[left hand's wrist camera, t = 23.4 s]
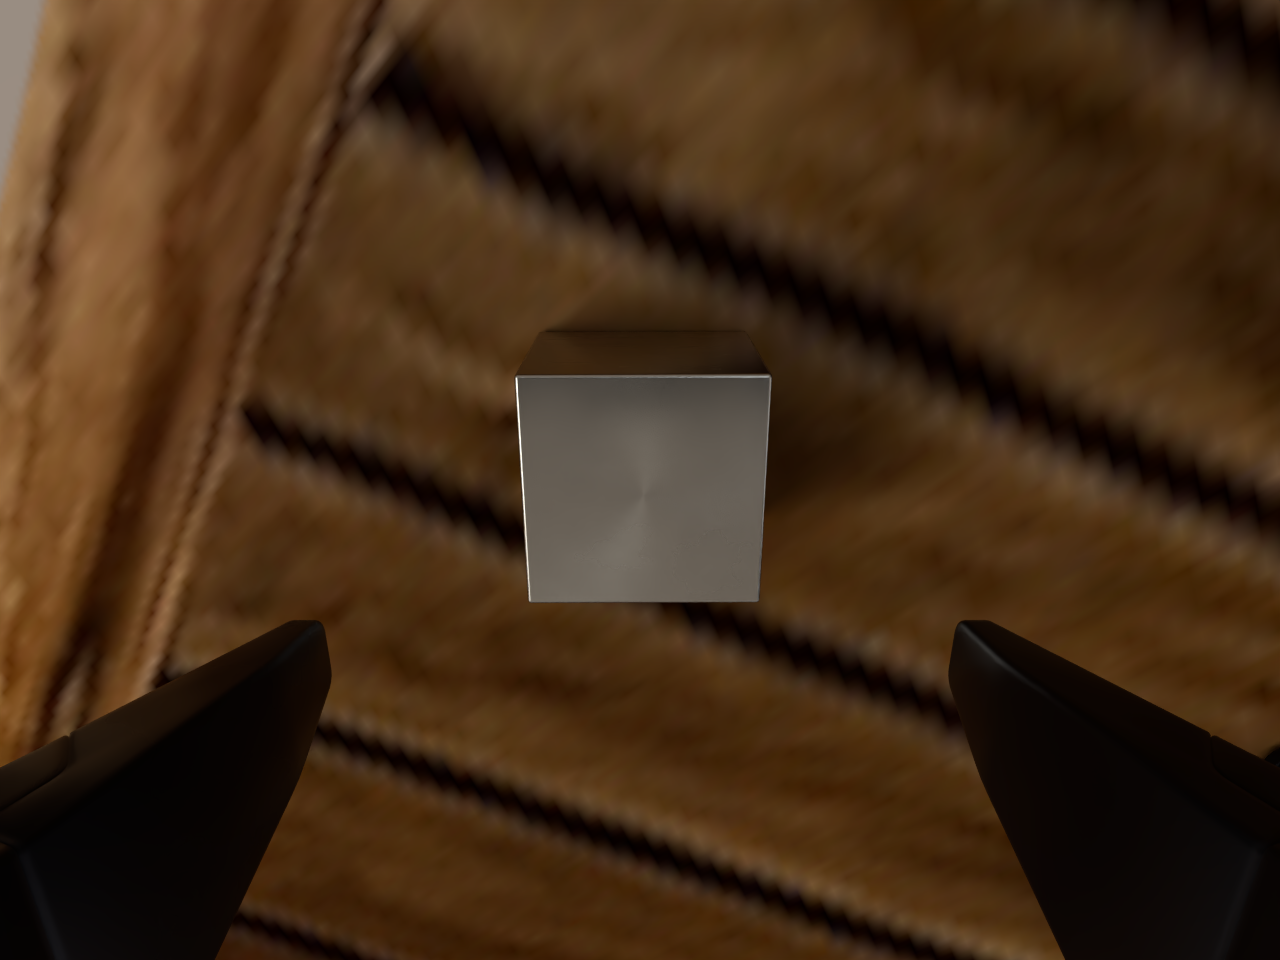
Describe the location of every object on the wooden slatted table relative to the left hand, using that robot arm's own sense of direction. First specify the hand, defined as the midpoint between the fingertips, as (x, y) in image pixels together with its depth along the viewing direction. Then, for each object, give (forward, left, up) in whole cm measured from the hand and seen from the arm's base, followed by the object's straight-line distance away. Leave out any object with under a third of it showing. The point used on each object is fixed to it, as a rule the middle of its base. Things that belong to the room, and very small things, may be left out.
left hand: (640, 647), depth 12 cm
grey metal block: (0, 0, -10) cm, 10 cm away
